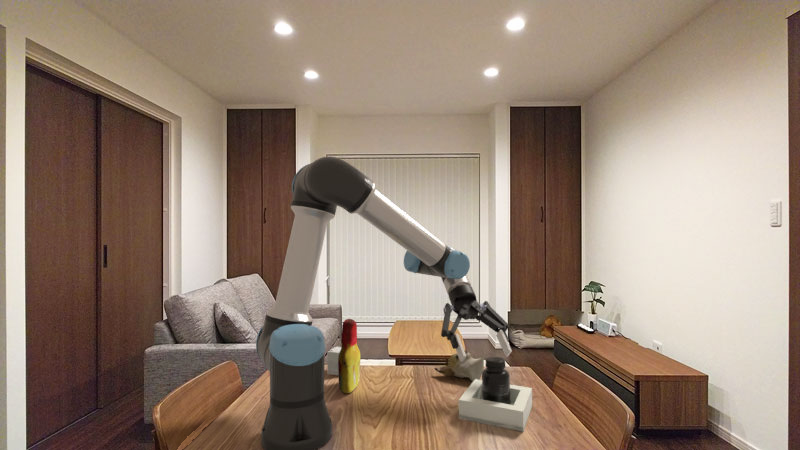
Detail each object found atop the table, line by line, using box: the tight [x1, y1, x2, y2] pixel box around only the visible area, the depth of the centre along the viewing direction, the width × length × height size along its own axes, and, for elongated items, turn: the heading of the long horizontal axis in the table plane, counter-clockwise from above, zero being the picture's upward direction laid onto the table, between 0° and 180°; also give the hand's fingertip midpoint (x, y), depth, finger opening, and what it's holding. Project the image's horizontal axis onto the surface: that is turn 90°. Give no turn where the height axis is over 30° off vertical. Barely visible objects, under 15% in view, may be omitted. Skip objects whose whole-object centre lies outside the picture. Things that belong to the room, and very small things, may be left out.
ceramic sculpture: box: [434, 349, 485, 382], centre depth 122 cm, size 11×9×15 cm
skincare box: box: [326, 346, 342, 376], centre depth 127 cm, size 6×6×7 cm
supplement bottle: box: [481, 356, 511, 405], centre depth 98 cm, size 7×7×12 cm
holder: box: [458, 379, 533, 433], centre depth 98 cm, size 15×15×4 cm
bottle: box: [338, 318, 361, 394], centre depth 114 cm, size 12×6×20 cm, turn 177°
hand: (486, 356), depth 103 cm, fingers open, 13 cm apart
